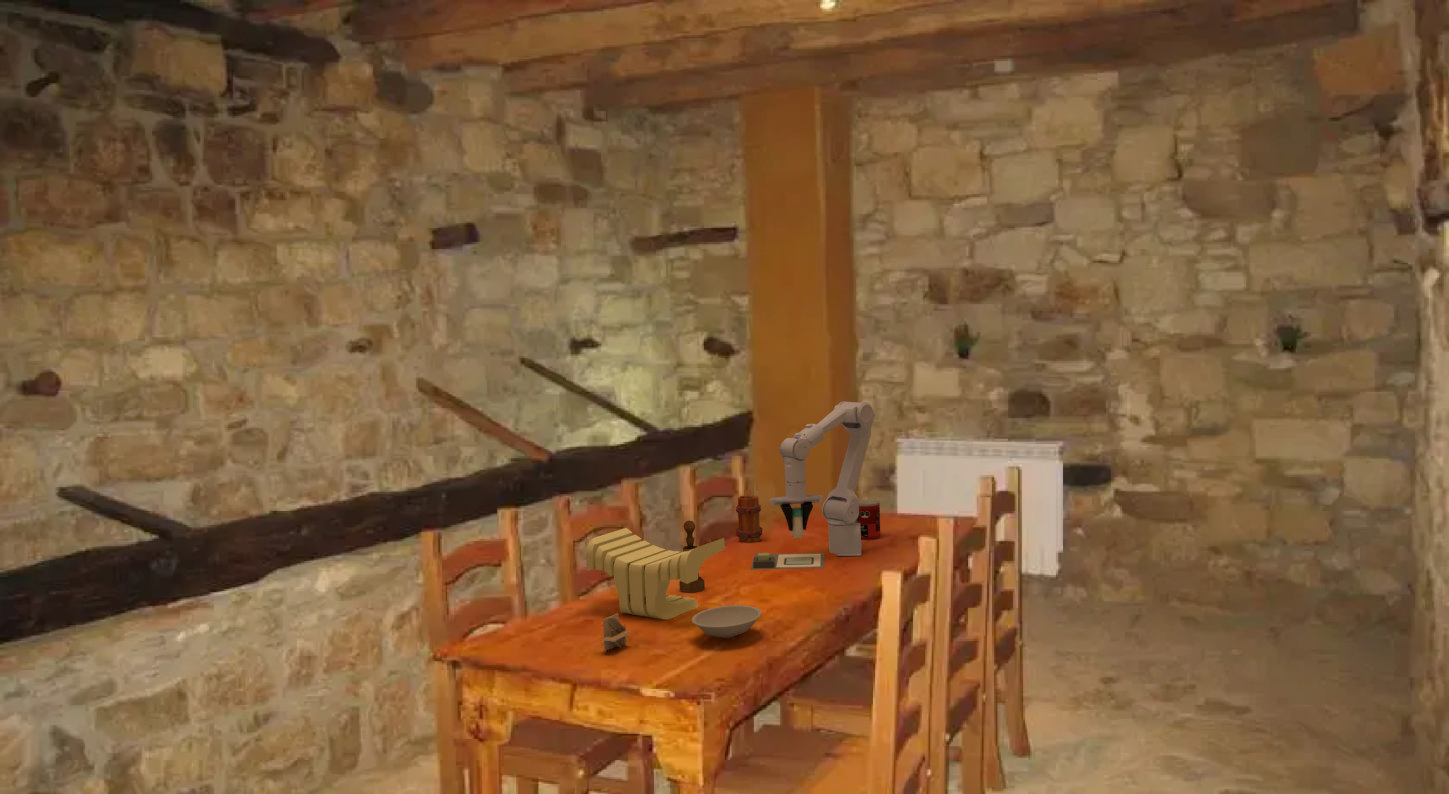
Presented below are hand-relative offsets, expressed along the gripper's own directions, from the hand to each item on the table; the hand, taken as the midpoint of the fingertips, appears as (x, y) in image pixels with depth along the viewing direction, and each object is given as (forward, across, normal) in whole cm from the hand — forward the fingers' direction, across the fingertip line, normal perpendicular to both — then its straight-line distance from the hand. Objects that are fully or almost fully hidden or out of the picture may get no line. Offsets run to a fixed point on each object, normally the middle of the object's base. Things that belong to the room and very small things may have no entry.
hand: (797, 529), depth 318 cm
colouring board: (+10, +3, -2) cm, 10 cm away
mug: (+10, +7, -35) cm, 37 cm away
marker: (+2, 0, 0) cm, 2 cm away
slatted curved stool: (+10, +43, +35) cm, 57 cm away
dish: (+10, +30, +62) cm, 69 cm away
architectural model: (+10, +55, +62) cm, 84 cm away
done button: (+8, +10, +2) cm, 13 cm away
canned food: (+10, -28, -27) cm, 40 cm away
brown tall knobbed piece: (+10, +32, +18) cm, 38 cm away
